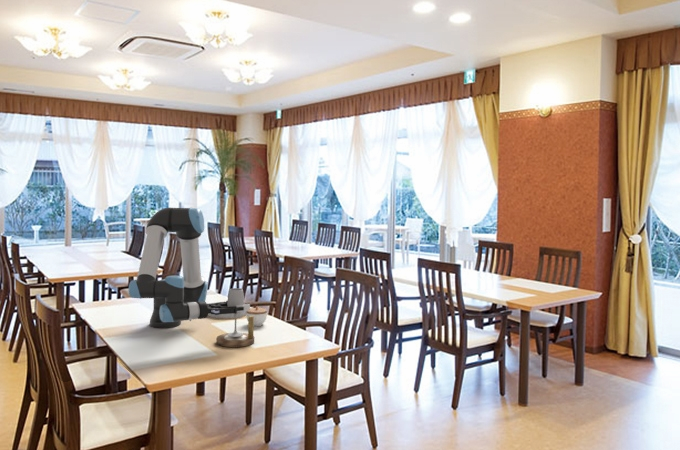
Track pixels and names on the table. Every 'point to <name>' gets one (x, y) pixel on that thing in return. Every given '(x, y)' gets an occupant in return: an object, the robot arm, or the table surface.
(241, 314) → the dish
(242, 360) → the table surface
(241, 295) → the wineglass
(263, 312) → the lidded jar
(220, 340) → the wooden holder stand
